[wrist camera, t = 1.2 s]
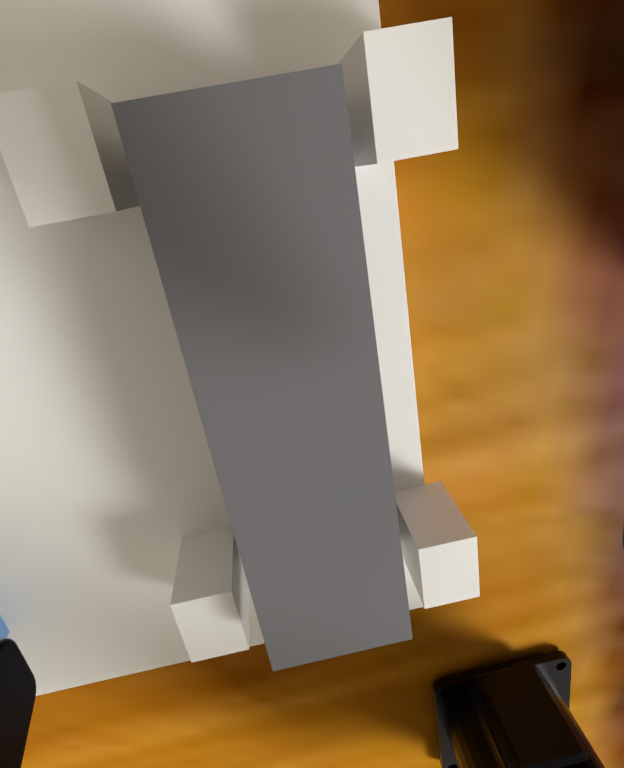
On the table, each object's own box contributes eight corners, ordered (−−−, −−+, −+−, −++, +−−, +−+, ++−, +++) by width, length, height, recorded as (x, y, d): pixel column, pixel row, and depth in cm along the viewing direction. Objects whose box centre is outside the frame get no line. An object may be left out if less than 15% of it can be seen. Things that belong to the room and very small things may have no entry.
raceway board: (439, 578, 21) (482, 668, 17) (-180, 719, 20) (-283, 850, 16) (379, -91, 13) (441, -212, 9) (-717, 80, 11) (-1220, 29, 7)
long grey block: (374, 535, 18) (412, 639, 14) (266, 558, 18) (272, 671, 14) (310, 101, 13) (342, 63, 9) (154, 128, 13) (111, 103, 8)
